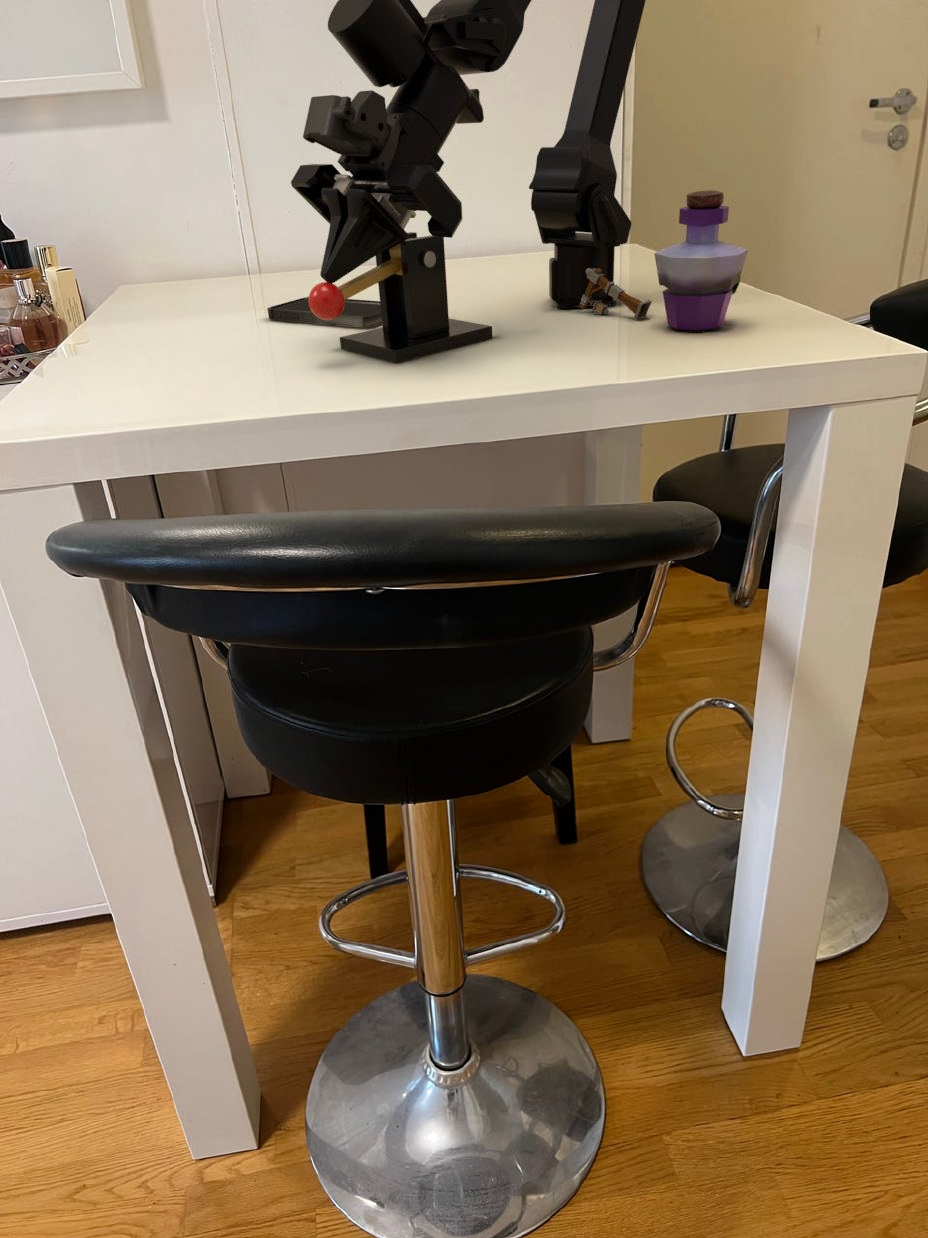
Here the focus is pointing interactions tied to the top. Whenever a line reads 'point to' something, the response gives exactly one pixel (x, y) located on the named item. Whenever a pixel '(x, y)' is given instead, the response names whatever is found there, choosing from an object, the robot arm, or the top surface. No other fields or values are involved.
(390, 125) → the robot arm
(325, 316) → the lever
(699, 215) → the potion bottle
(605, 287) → the wooden post with brackets
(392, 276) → the bracket
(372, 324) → the phone
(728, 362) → the top surface
